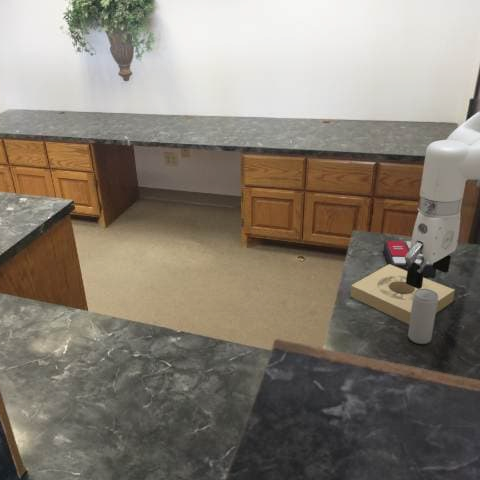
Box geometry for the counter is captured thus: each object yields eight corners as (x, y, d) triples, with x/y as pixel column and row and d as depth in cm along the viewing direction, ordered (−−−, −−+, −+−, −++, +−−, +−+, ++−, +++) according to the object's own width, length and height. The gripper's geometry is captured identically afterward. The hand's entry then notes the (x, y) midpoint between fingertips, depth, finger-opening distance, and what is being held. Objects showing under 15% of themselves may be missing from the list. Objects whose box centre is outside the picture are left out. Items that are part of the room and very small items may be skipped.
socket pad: (452, 301, 127) (455, 289, 125) (414, 327, 119) (416, 315, 118) (388, 275, 140) (389, 264, 139) (350, 296, 133) (351, 285, 132)
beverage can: (404, 339, 116) (410, 295, 110) (412, 329, 119) (419, 286, 113) (426, 348, 112) (433, 302, 107) (434, 337, 115) (442, 292, 110)
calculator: (424, 239, 148) (437, 262, 135) (423, 253, 150) (435, 277, 137) (384, 239, 151) (393, 261, 138) (383, 252, 153) (391, 276, 140)
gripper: (432, 222, 94) (419, 300, 101) (482, 196, 102) (467, 270, 110) (395, 210, 100) (386, 285, 107) (445, 187, 108) (433, 258, 115)
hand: (427, 277), depth 108 cm, fingers open, 9 cm apart
